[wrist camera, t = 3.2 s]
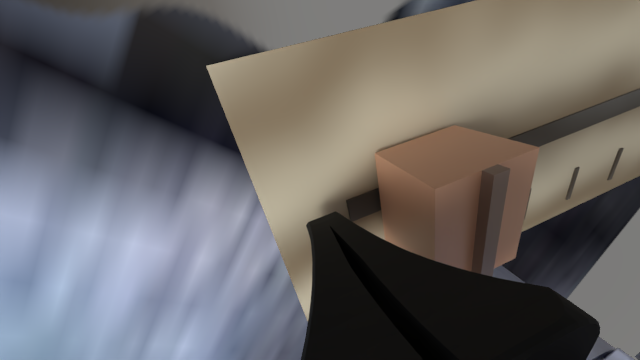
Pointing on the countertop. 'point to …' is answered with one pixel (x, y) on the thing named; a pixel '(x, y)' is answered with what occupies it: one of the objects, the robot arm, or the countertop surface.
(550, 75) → the fader console
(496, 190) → the fader knob
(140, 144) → the countertop surface
